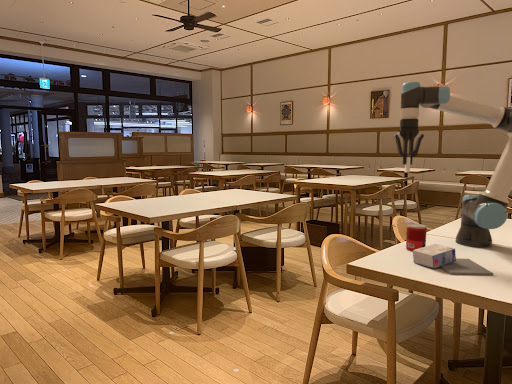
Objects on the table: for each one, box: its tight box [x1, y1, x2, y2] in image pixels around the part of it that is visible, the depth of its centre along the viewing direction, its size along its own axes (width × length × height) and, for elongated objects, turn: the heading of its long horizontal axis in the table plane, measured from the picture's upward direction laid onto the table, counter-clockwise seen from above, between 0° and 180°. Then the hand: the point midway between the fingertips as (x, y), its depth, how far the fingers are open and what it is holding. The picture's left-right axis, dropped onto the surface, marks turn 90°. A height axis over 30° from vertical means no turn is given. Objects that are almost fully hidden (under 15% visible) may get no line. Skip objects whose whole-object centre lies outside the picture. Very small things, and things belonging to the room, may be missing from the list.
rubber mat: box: [439, 258, 494, 276], centre depth 149 cm, size 15×18×1 cm
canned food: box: [405, 223, 428, 252], centre depth 174 cm, size 8×8×11 cm
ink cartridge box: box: [412, 243, 457, 270], centre depth 153 cm, size 10×6×14 cm
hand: (407, 172), depth 176 cm, fingers closed
